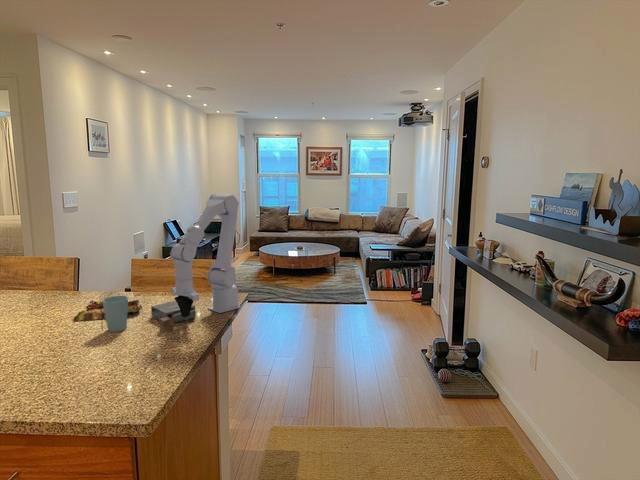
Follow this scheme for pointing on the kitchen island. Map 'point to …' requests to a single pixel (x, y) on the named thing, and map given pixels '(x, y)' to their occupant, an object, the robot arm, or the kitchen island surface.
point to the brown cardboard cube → (166, 324)
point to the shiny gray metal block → (166, 310)
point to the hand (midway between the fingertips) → (185, 316)
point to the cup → (116, 312)
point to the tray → (179, 317)
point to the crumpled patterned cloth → (102, 311)
